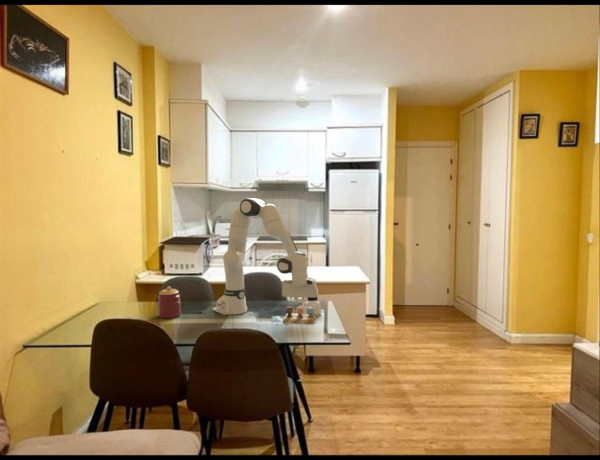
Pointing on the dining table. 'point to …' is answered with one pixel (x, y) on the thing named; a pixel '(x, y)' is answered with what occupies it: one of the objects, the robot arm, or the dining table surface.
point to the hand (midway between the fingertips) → (300, 304)
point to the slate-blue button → (310, 311)
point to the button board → (299, 318)
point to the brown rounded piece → (289, 310)
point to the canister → (169, 303)
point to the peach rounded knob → (299, 311)
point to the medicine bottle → (312, 305)
